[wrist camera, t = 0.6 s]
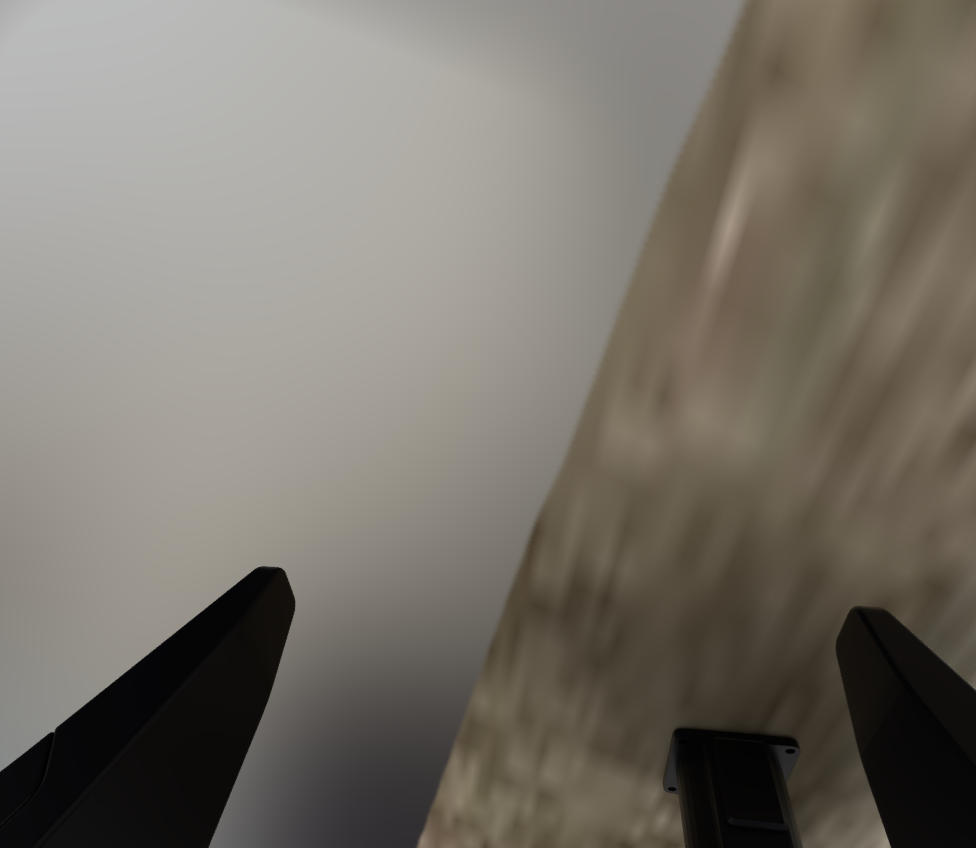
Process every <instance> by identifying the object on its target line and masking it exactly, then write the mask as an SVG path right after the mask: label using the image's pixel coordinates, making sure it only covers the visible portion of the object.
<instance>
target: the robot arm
mask: <svg viewBox="0 0 976 848" xmlns="http://www.w3.org/2000/svg"><path fill="white" fill-rule="evenodd" d="M294 611H295V597H294V595H293V592H292V589H291V586H290V583H289V581H288V578H287V575H286V573H285V571H284V570H283V569H282V568H279V567H266V566H263V567H258V568H256V569H255V570H253V571H252V572H251V573H249V574H248V575H247V576H246V577H245V578H243V579H242V580H241V581H239V582H238V583H237V584H236V585H234V586H233V587H232V588H231V589H230V590H228V591H227V592H226V593H224V594H223V595H222V596H221V597H219V598H218V599H217V600H216V601H214V602H213V603H212V604H211V605H209V606H208V607H207V608H206V609H205V610H203V611H202V612H201V613H199V614H198V615H197V616H196V617H194V618H193V619H192V620H191V621H189V622H188V623H187V624H186V625H184V626H183V627H182V628H181V629H179V630H178V631H177V632H176V633H174V634H173V635H172V636H171V637H169V638H168V639H167V640H166V641H164V642H163V643H162V644H161V645H159V646H158V647H157V648H156V649H154V650H153V651H152V652H150V653H149V654H148V655H147V656H146V657H144V658H143V659H142V660H141V661H139V662H138V663H137V664H136V665H134V666H133V667H132V668H131V669H130V670H128V671H127V672H125V673H124V674H123V675H122V676H120V677H119V678H118V679H117V680H115V681H114V682H113V683H112V684H110V685H109V686H108V687H107V688H105V689H104V690H103V691H102V692H100V693H99V694H98V695H97V696H96V697H94V698H93V699H92V700H90V701H89V702H88V703H87V704H85V705H84V706H83V707H82V708H81V709H79V710H78V711H77V712H75V713H74V714H73V715H72V716H70V717H69V718H68V719H67V720H65V721H64V722H63V723H62V724H60V725H59V726H58V727H57V728H56V729H55V732H51V733H49V734H48V735H47V736H45V737H44V738H43V739H41V740H40V741H39V742H38V743H36V744H35V745H34V746H33V747H31V748H30V749H29V750H28V751H26V752H25V753H24V754H23V755H21V756H20V757H19V758H17V759H16V760H15V761H13V762H12V763H11V764H10V765H9V766H7V767H6V768H4V769H3V770H2V771H1V772H0V848H208V847H209V845H210V843H211V840H212V837H213V835H214V833H215V830H216V828H217V825H218V823H219V820H220V818H221V815H222V813H223V811H224V808H225V806H226V803H227V801H228V798H229V796H230V793H231V791H232V788H233V786H234V784H235V781H236V779H237V776H238V774H239V771H240V769H241V767H242V764H243V762H244V759H245V756H246V754H247V752H248V749H249V747H250V744H251V742H252V740H253V737H254V734H255V732H256V730H257V727H258V725H259V722H260V720H261V718H262V715H263V712H264V710H265V707H266V705H267V702H268V699H269V696H270V693H271V690H272V687H273V684H274V681H275V677H276V674H277V670H278V666H279V663H280V660H281V657H282V653H283V649H284V646H285V643H286V639H287V636H288V633H289V629H290V626H291V622H292V619H293V615H294ZM836 655H837V659H838V664H839V668H840V673H841V677H842V681H843V686H844V690H845V694H846V699H847V703H848V708H849V712H850V716H851V721H852V725H853V729H854V734H855V738H856V742H857V746H858V750H859V754H860V758H861V761H862V764H863V767H864V770H865V773H866V776H867V779H868V782H869V785H870V788H871V791H872V794H873V797H874V799H875V802H876V805H877V808H878V811H879V814H880V817H881V820H882V823H883V825H884V828H885V831H886V834H887V837H888V840H889V843H890V846H891V848H976V690H975V689H974V688H973V687H972V686H971V685H970V684H968V683H967V682H966V681H965V680H964V679H963V678H962V677H961V676H960V675H958V674H957V673H956V672H955V671H954V670H953V669H952V668H951V667H950V666H948V665H947V664H946V663H945V662H944V661H943V660H942V659H941V658H940V657H938V656H937V655H936V654H935V653H934V652H933V651H932V650H931V649H930V648H928V647H927V646H926V645H925V644H924V643H923V642H922V641H921V640H920V639H918V638H917V637H916V636H915V635H914V634H913V633H912V632H911V631H910V630H908V629H907V628H906V627H905V626H904V625H903V624H902V623H901V622H900V621H898V620H897V619H896V618H895V617H894V616H893V615H892V614H891V613H889V612H888V611H886V610H885V609H883V608H879V607H866V606H855V607H853V608H852V609H851V610H850V611H849V613H848V615H847V617H846V619H845V622H844V624H843V626H842V628H841V630H840V632H839V635H838V637H837V640H836ZM799 754H800V747H799V744H798V742H797V741H796V740H793V739H785V738H774V737H763V736H752V735H741V734H730V733H719V732H708V731H697V730H686V729H679V730H676V731H674V733H673V736H672V741H671V745H670V750H669V755H668V759H667V764H666V769H665V773H664V778H663V787H664V790H665V791H666V792H669V793H676V794H679V802H680V810H681V817H682V825H683V833H684V841H685V848H803V846H802V842H801V838H800V834H799V831H798V827H797V823H796V819H795V816H794V812H793V808H792V804H791V801H790V797H789V793H788V789H787V786H786V782H787V780H788V778H789V776H790V774H791V771H792V769H793V767H794V765H795V763H796V761H797V758H798V756H799Z"/></svg>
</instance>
